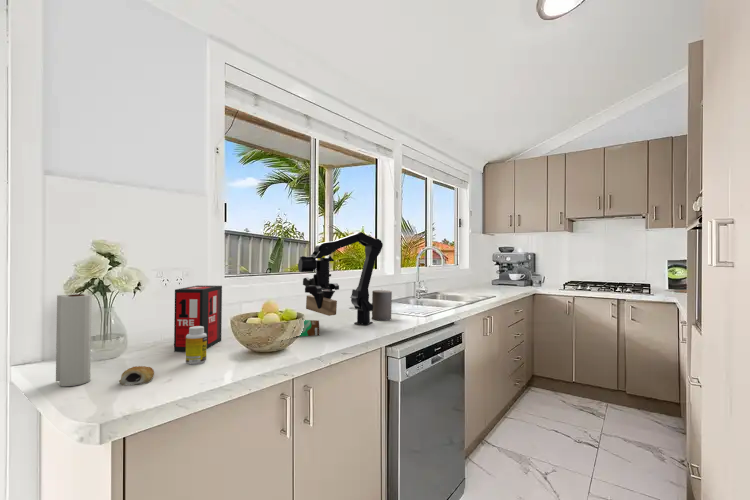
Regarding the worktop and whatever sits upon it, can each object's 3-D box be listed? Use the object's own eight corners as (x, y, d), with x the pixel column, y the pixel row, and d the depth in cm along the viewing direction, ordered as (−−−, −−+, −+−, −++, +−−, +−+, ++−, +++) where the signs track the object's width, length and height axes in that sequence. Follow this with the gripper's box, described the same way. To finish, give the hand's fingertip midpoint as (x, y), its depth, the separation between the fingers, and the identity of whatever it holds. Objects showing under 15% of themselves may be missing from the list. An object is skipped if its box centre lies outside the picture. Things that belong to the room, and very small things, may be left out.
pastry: (131, 375, 104) (131, 360, 104) (159, 374, 105) (160, 359, 105) (117, 387, 95) (117, 371, 95) (148, 385, 96) (149, 369, 96)
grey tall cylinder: (93, 382, 97) (94, 294, 97) (62, 389, 93) (63, 296, 93) (85, 376, 102) (86, 292, 102) (55, 382, 97) (57, 294, 98)
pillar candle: (367, 318, 195) (368, 288, 195) (380, 316, 203) (380, 287, 203) (383, 321, 189) (383, 289, 189) (395, 318, 197) (396, 288, 197)
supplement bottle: (204, 364, 114) (205, 328, 114) (183, 365, 112) (184, 329, 113) (207, 359, 119) (208, 325, 119) (187, 360, 118) (188, 325, 118)
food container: (319, 320, 154) (293, 320, 152) (319, 336, 154) (292, 337, 152) (318, 315, 166) (293, 315, 164) (318, 330, 166) (293, 330, 164)
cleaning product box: (196, 340, 144) (197, 285, 145) (221, 340, 144) (222, 285, 145) (174, 351, 128) (174, 289, 128) (201, 352, 128) (202, 289, 128)
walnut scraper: (313, 307, 181) (313, 294, 181) (336, 314, 170) (336, 300, 170) (305, 308, 178) (306, 295, 178) (328, 315, 167) (329, 301, 167)
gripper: (318, 270, 185) (318, 304, 185) (294, 272, 168) (294, 309, 168) (339, 271, 180) (339, 305, 180) (316, 272, 163) (316, 311, 163)
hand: (322, 307), depth 173 cm, fingers closed on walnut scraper, 5 cm apart
